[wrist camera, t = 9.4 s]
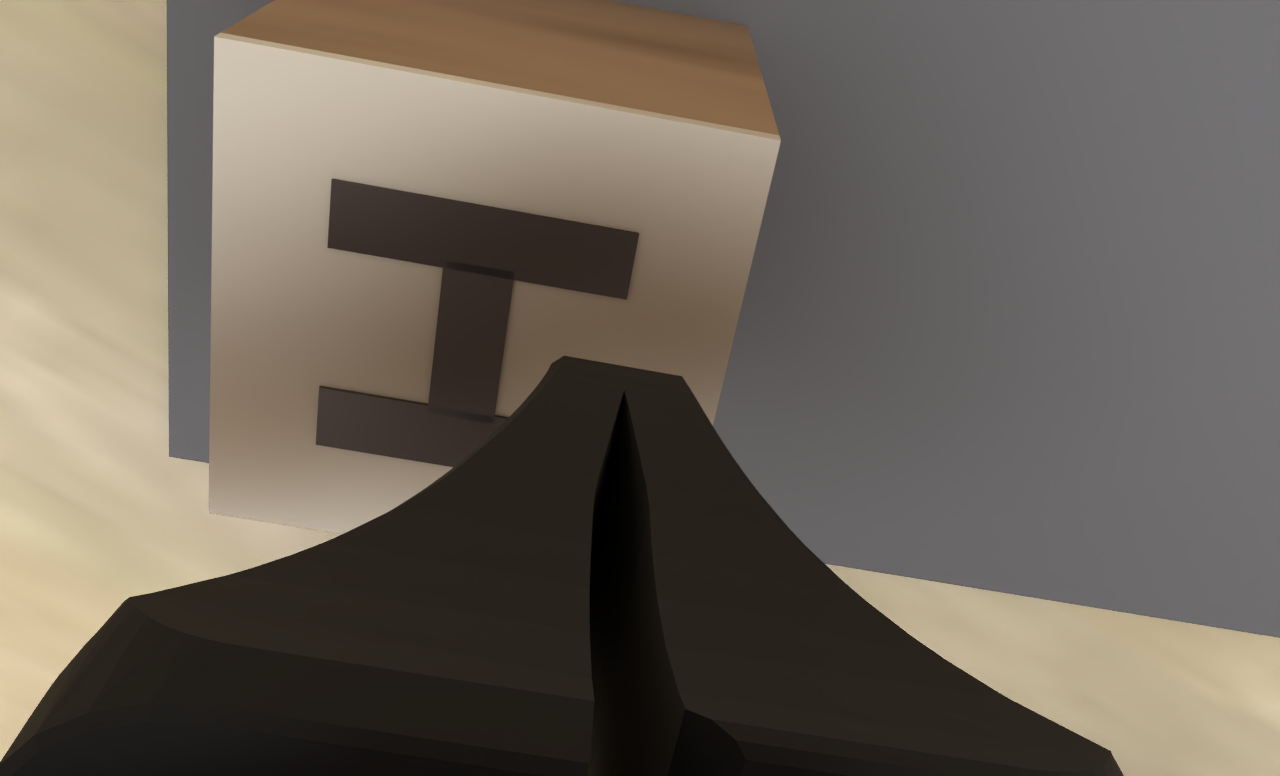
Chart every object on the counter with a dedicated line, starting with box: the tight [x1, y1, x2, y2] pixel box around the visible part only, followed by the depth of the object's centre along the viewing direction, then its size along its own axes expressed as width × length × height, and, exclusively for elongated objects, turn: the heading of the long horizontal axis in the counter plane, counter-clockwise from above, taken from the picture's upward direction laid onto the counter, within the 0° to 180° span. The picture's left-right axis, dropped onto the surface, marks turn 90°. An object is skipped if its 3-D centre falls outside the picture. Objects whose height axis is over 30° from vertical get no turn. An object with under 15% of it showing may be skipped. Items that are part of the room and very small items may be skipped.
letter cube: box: [209, 0, 781, 534], centre depth 17 cm, size 6×6×6 cm
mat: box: [167, 0, 1280, 638], centre depth 20 cm, size 13×23×1 cm, turn 80°
